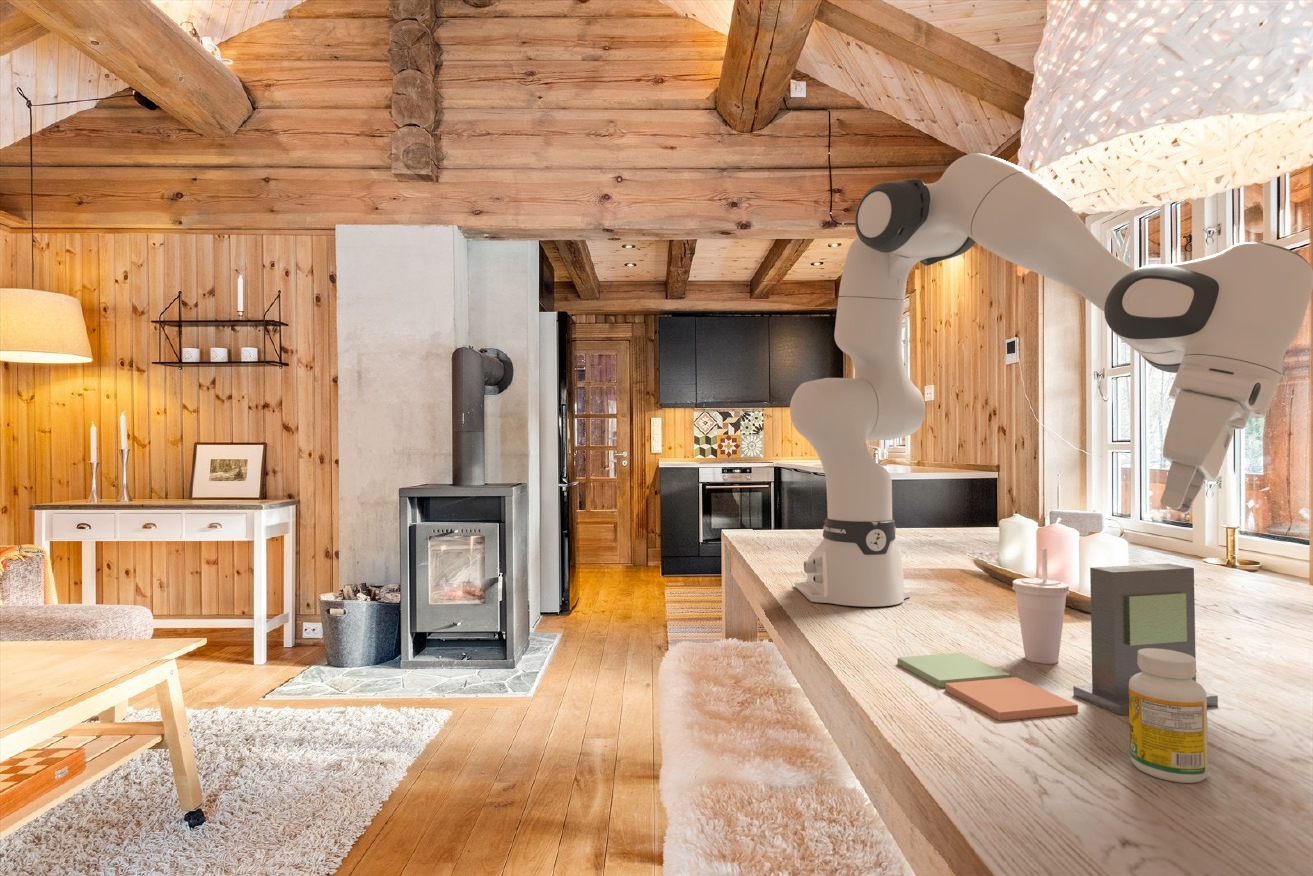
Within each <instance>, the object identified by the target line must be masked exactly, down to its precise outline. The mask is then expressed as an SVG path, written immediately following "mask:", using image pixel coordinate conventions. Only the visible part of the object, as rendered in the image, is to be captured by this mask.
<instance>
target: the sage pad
mask: <svg viewBox="0 0 1313 876" xmlns="http://www.w3.org/2000/svg"><path fill="white" fill-rule="evenodd" d="M897 665H899V666H901V667H902V668H904V669H906V670H908V671H909V672H911V673H913V674H915V675H917V676H918V677H920V678H922V679H924V680H926V681H928V682H929V683H931V684H933V685H934V686H936V687H939V688H945V683H954V682H966V681H978V680H989V679H1001V678H1011V673H1008V672H1006V671H1004V670H1002V669H999V668H997V667H995V666H993V665H990V664H988V663H986V662H985V661H981V660H979V659H977V658H974V657H973V656H971V655H968V654H966V653H963V652H952V653H941V654H939V653H938V654H928V655H925V654H924V655H912V656H901V657H897Z"/></svg>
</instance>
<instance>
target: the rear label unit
mask: <svg viewBox="0 0 1313 876" xmlns="http://www.w3.org/2000/svg"><path fill="white" fill-rule="evenodd" d="M1089 568H1090V570H1089V574H1090V579H1089V580H1090V625H1091V627H1090V628H1091V629H1090V630H1091V631H1090V632H1091V635H1090V636H1091V637H1090V638H1091V678H1092V679H1091V681H1092V682H1091V683H1089V684H1080V685H1079V684H1077V685H1073V696H1075V697H1077V698H1079V699H1081V700H1084V701H1086V702H1088V703H1091V704H1093V705H1094V706H1098V707H1100V708H1102V709H1104V710H1107V711H1109V712H1111V713H1114V714H1116V715H1117V716H1124V715H1125V716H1127V715H1129V681H1130V679H1131V677H1132V676H1134V675H1135V674H1137V673H1140V672H1142V670H1141V669H1140V668H1139V666H1138V664H1137V657H1138V651H1139V650H1140V649H1146V648H1157V649H1166V650H1173V651H1178V652H1182V653H1185V654H1188V655H1191V656H1193V657H1194V658H1195V659H1196V654H1197V653H1196V619H1195V618H1196V613H1195V609H1196V608H1195V606H1196V605H1195V602H1196V601H1195V568H1194V567H1190V566H1185V565H1178V564H1173V563H1151V564H1138V565H1135V564H1133V565H1114V566H1112V565H1111V566H1096V567H1095V566H1093V567H1089ZM1196 660H1197V659H1196ZM1192 680H1194V681H1196V682H1197V673H1196V674H1195V677H1193V678H1192ZM1205 692H1206V695H1207V707H1214V706H1219V698H1218V696H1219V695H1217V694H1215V693H1211V692H1209V691H1206V690H1205Z"/></svg>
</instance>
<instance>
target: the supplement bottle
mask: <svg viewBox="0 0 1313 876" xmlns="http://www.w3.org/2000/svg"><path fill="white" fill-rule="evenodd" d="M1137 664H1138V666H1139V668H1140V669H1141V670H1142V672H1140V673H1137V674H1135V675H1134V676H1132V677H1131V679H1130V681H1129V714H1128V717H1129V719H1128V722H1129V724H1128V726H1129V728H1128V729H1129V759H1130V761H1131V763H1132V764H1133V765H1134V766H1135V767H1136V768H1137V769H1138V770H1139V771H1141V772H1143V773H1144V774H1146V775H1149V776H1152V777H1154V778H1158V779H1161V780H1165V781H1168V782H1172V783H1173V782H1175V783H1179V784H1180V783H1181V784H1195V783H1201V782H1202V781H1204V780H1205V779H1206V778H1207V777H1208V774H1209V763H1208V762H1209V761H1208V760H1209V759H1208V758H1209V757H1208V754H1209V753H1208V706H1207V695H1206V692H1207V691H1206V690H1205V688H1204V687H1203V685H1201V684H1200V683H1199V682H1198V681H1197V680H1196V681H1194V680H1192V678H1193V677H1195V674H1196V675H1197V673H1198V672H1197V671H1198V670H1197V659H1195V658H1194V657H1193V656H1191V655H1188V654H1185V653H1182V652H1178V651H1173V650H1166V649H1157V648H1146V649H1140V650H1139V651H1138V657H1137ZM1205 691H1206V692H1205Z"/></svg>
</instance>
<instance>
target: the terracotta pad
mask: <svg viewBox="0 0 1313 876" xmlns="http://www.w3.org/2000/svg"><path fill="white" fill-rule="evenodd" d="M944 688H945V689H944V690H945V692H947V693H950V694H951V695H952V696H954V697H957V698H958V699H960V700H962V701H963V702H965V703H967V704H969V705H971V706H972V707H974V708H975V709H978V710H980V711H982V712H983V713H985V714H986V715H988V716H990V717H992V718H994V719H997V720H998V721H1009V720H1010V721H1011V720H1021V719H1029V718H1040V717H1049V716H1059V715H1060V716H1061V715H1068V714H1069V715H1070V714H1071V715H1072V714H1078V713H1079V705H1078V704H1077V703H1074V702H1072V701H1070V700H1068V699H1066V698H1063V697H1061V696H1059V695H1057V694H1055V693H1052V692H1050V691H1048V690H1045V689H1044V688H1041V687H1039V686H1037V685H1035V684H1032V683H1031V682H1028V681H1025V680H1024V679H1021V678H1020V677H1015V676H1014V677H1013V676H1012V677H1010V678H1001V679H989V680H978V681H966V682H954V683H945V687H944Z"/></svg>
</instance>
